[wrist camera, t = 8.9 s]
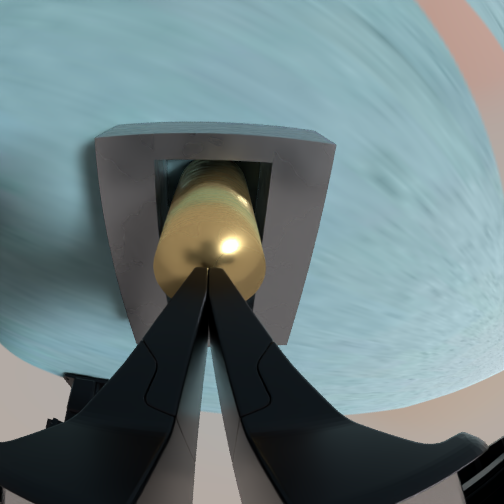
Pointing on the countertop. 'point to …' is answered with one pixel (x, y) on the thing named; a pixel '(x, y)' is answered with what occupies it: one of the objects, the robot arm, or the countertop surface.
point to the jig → (266, 213)
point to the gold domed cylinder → (210, 229)
